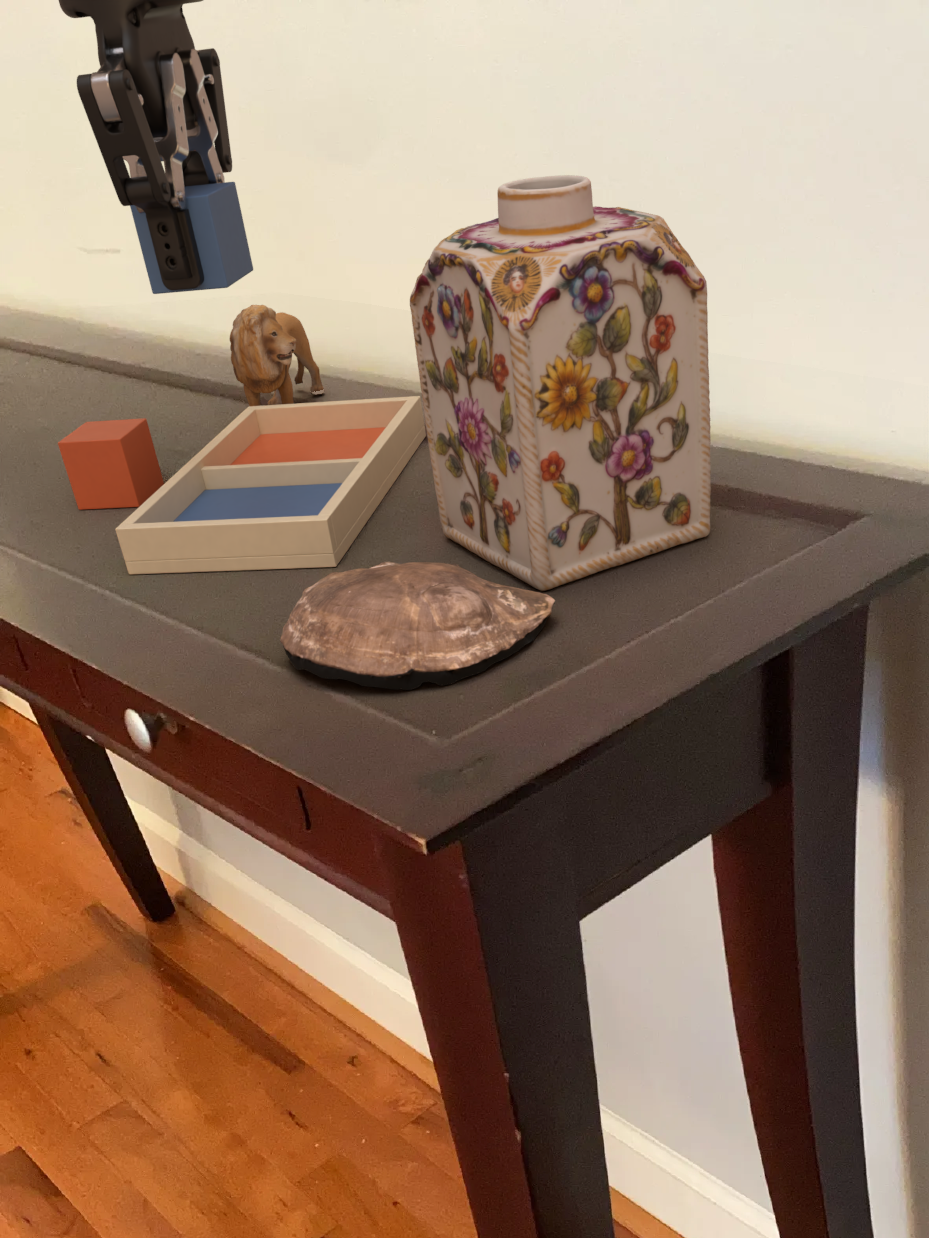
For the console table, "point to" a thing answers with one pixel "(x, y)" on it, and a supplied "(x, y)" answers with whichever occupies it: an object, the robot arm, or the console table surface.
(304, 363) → the lion figurine
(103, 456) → the terracotta block
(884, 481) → the console table surface
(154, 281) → the blue block
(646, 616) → the console table surface
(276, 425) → the sorting tray
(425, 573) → the shell
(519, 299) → the decorative jar
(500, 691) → the console table surface
